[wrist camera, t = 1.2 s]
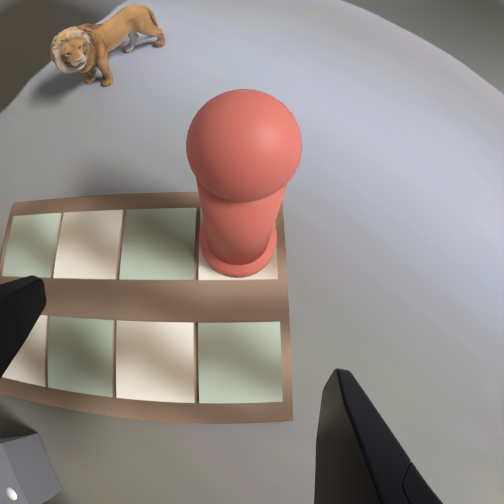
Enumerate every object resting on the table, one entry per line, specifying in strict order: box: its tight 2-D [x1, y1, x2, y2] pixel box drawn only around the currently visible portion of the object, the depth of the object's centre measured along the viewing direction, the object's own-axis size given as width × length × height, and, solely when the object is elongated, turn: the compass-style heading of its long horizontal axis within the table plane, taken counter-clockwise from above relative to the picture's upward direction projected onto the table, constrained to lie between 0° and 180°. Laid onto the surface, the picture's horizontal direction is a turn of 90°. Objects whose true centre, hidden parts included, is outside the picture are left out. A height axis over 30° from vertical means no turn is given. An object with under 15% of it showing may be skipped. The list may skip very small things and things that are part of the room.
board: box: [0, 192, 293, 424], centre depth 21 cm, size 16×23×1 cm
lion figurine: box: [50, 4, 165, 86], centre depth 25 cm, size 15×5×9 cm, turn 153°
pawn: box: [186, 89, 302, 278], centre depth 16 cm, size 5×5×13 cm
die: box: [0, 433, 63, 504], centre depth 14 cm, size 5×5×5 cm
